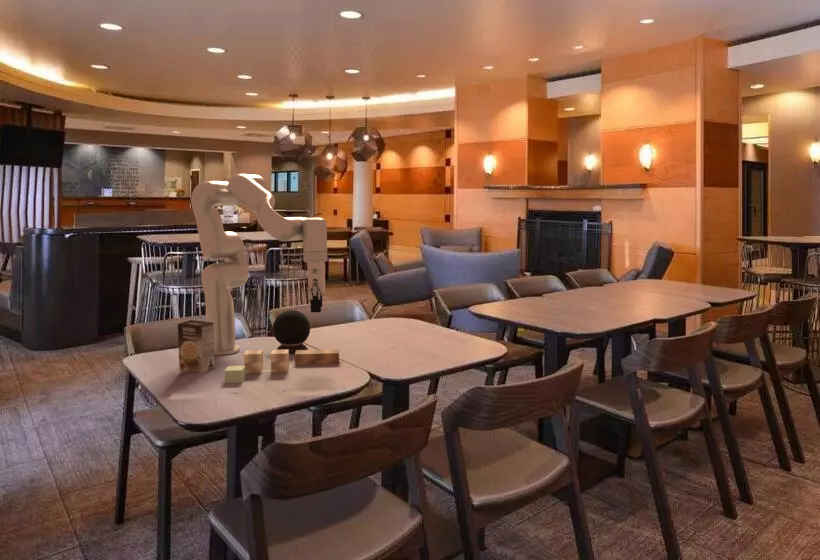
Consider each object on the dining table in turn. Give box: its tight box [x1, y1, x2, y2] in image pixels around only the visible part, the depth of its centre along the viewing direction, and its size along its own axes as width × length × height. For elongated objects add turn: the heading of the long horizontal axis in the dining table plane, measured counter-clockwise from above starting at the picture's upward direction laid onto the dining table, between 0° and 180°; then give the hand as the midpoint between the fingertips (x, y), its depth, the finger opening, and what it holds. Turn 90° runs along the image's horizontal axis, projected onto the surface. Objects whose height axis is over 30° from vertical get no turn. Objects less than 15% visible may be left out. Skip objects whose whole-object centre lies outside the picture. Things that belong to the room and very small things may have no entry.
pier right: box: [270, 349, 290, 374], centre depth 188 cm, size 5×5×6 cm
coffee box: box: [177, 319, 216, 375], centre depth 189 cm, size 9×6×16 cm
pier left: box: [243, 349, 264, 374], centre depth 187 cm, size 5×5×6 cm
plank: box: [294, 348, 340, 366], centre depth 198 cm, size 14×5×5 cm, turn 96°
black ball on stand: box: [272, 309, 311, 355], centre depth 216 cm, size 13×13×15 cm
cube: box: [224, 365, 247, 384], centre depth 178 cm, size 5×5×5 cm
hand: (316, 309), depth 196 cm, fingers open, 9 cm apart
